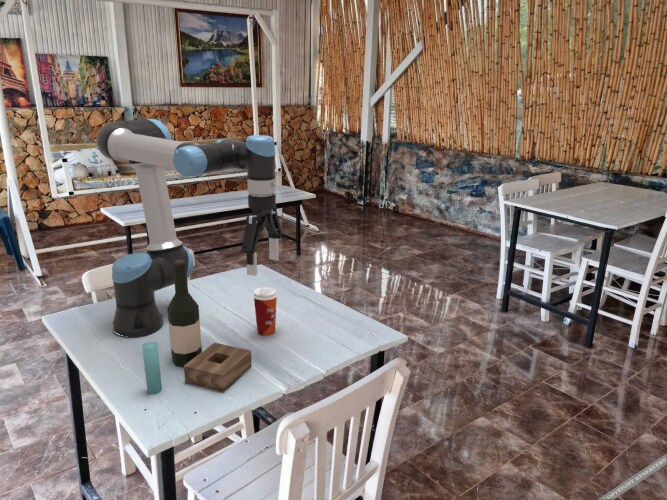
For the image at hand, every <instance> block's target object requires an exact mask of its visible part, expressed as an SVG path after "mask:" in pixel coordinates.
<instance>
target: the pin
mask: <svg viewBox="0 0 667 500" xmlns="http://www.w3.org/2000/svg"><path fill="white" fill-rule="evenodd" d="M141 347H142V356H143V365H144V366H143V367H144V373H145V381H146V382H145V383H146V391H147V393H148V394H149V393H150V394H149V395H156V394H160V393H161V391H163V387H162V386H163V385H162V377H161V367H160V354H159V348H158V347H159V346H158V343H157V342H155V341H147V342H145V343H143V344H142V345H141Z"/></svg>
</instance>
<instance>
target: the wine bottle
mask: <svg viewBox="0 0 667 500" xmlns="http://www.w3.org/2000/svg"><path fill="white" fill-rule="evenodd" d="M173 272H174V283H175V284H174V295H173V296H172V299H171V300H170V302H169V304H168V306H167V319H168V329H169V330H168V331H169V340H170V351H171V361H172V363H173V364H174V365H175V367H180V368H184V365H186V364H187V363H188V362H190V361H191V360H192V359H193V358H195V357H196V356H197V355H199V354H200V353H201V352H203V349H202V347H203V346H202V335H201V320H200V309H199V307H200V306H199V304H198V303H197V302H196V300H195V299H194V298H193V296H192V295H191V294H190V292H189V285H188V278H187V270H186V263H185V262H184V260H176V261H174V264H173Z"/></svg>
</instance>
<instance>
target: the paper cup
mask: <svg viewBox="0 0 667 500" xmlns="http://www.w3.org/2000/svg"><path fill="white" fill-rule="evenodd" d="M278 295H279V294H278V293H277V289H275V288H273V287H265V286H264V287H259V288H256V289H255V290H254V292H253V294H252V297H253V303H254V312H255V321H256V322H255V323H256V330H257V334H258V335H260V336H263V337H264V336H265V337H269V336H272V335H275V334H276V325H277V324H276V323H277V322H276V321H277V297H278Z"/></svg>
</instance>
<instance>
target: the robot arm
mask: <svg viewBox="0 0 667 500" xmlns="http://www.w3.org/2000/svg"><path fill="white" fill-rule="evenodd" d="M95 141H96V146H97V149H98V151H99V152H100V153H101V155H102V156H104V157H105V158H106V159H109V160H112V161H116V162H121V163H124V162H128V164H129V166H130V167H131V168H133V169H134V171H135V174H136V179H137V183H138V189H139V193H140V199H141V203H142V208H143V215H144V220H145V224H146V229H147V233H148V234H147V235H148V238H149V239H148V240H149V244H148V245H147V247H146V249H145V250H146V253H144V252H134V253H129V254H127V255H126V254H125V255H123V256H121V257H120V258H117V259H115V261H114V262H113V264H112V266H111V278H112V282H113V283H112V285H113V291H114V298H115V306H116V309H115V312H114V318H113V322H112V329H113V330H114V331H115V332H116V333H118V334H120V335H123V336H128V337H127V338H141V337H146V336H148V335H151V334H154V333H156V332H158V331H159V330H161V328H162V327H163V325H164V319H163V316H162V314H161V312H160V309H159V308H158V305H157V303H156V297H155V292H157V291H159V290H162V289H165V288H167V287H170V286H173V285H175V283H174V272H173V264H174V261H176V260H184V262H185V263H186V270H187V279H188V278H189V277H190V275H191V274H192V273H193V270H194V265H195V264H194V257H193V254H192V253H191V252H190V249H189V248H188V247H186V246H184V244H183V241H181V240H180V239H179V238H178V237H177V233H176V227H175V221H174V216H173V215H174V214H173V210H172V205H171V200H170V195H169V190H168V184H167V179H166V173H165V168H167V169H171V170H175V171H176V172H178V173H179V175H180V176H182V177H198V176H201V175H206V174H211V173H217V172H222V171H227V170H235V169H237V170H244V171H246V177H247V193H248V195H247V201H248V202H247V206H248V208H249V209H250V210H252V215H246V218H245V221H246V223H245V228H244V235H243V239H242V244H241V249H240V251H241V253H245V255H246V256H245V257H246V275H249V276H255V277H256V276H258V264H257V263H258V262H257V261H258V260H257V259H258V256H257V255H258V254H257V252H256V250H257V246H258V242H259V239H260V236H261V233H262V232H263V231H264V229H266V231H267V232H268V235H269V238H268V253H269V254H268V255H269V257H268V258H269V260H272V261H279V253H280V252H279V239H282V238H283V235H282V234H283V229H282V226H281V222H280V220H279V215H278V208H277V206H276V204H277V201H276V200H277V199H276V198H277V197H276V194H275V193H276V187H277V183H276V168H275V167H276V148H275V147H276V146H275V139H274V138H273V137H272V136H270V135H257V134H255V135H248V136H247V137H246V139H245V141H240V140H239V141H238V140H232V139H218V140H216V141H215V142H212V143H211V142H210V143H205V144H202V143H201V144H195V143H191V142H189V143H188V142H184V141H180V140H173V139H172V136H171V134H170V131H169V129H168V128H167V127H166V125H165V124H164V123H163V122H162V121H160V120H158V119H155V118H154V119H153V118H152V119H151V118H141V119H138V118H137V119H129V120H127V119H126V120H113V121H110V122H107V123H105V124H104V125H103V126H101V128H100V129H99V130H98V132H97V135H96V139H95ZM114 331H113V332H114ZM140 336H141V337H140Z"/></svg>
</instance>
